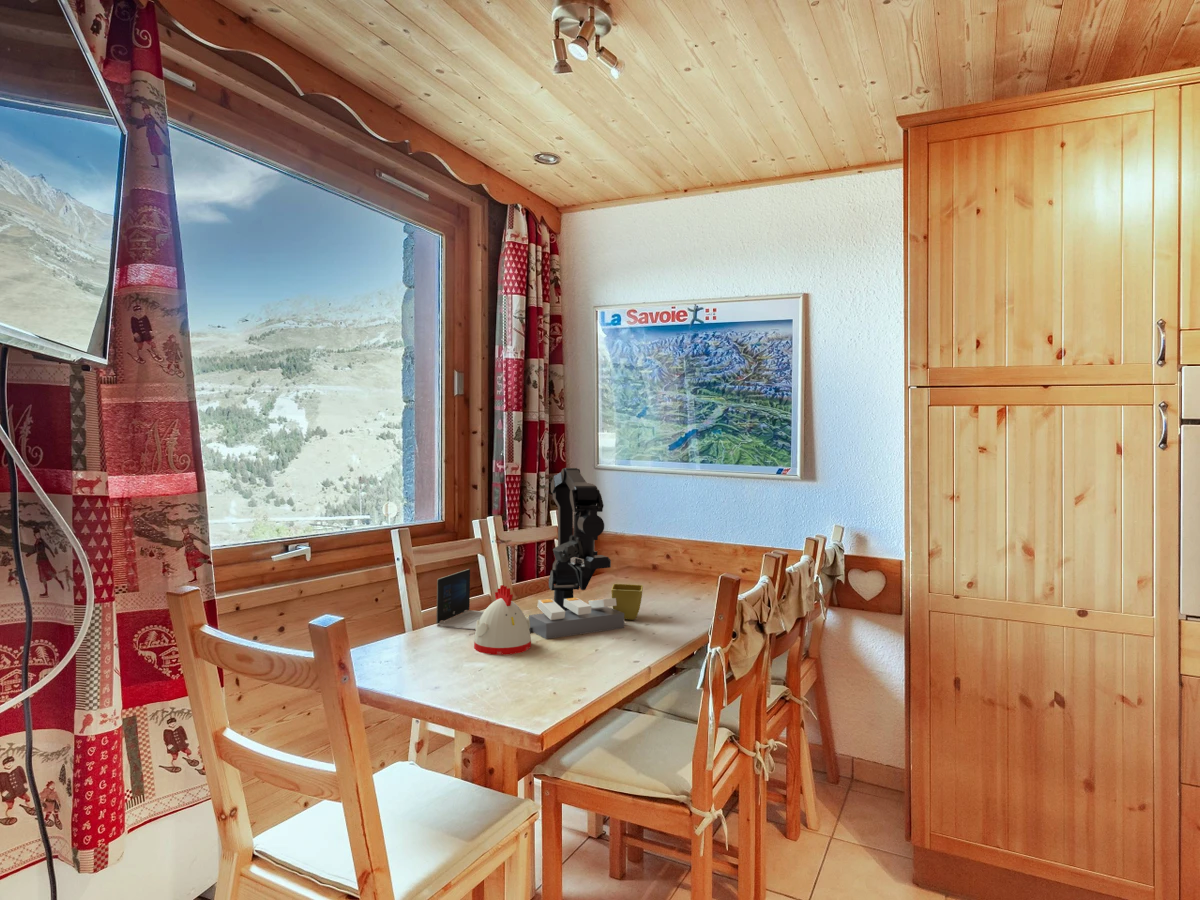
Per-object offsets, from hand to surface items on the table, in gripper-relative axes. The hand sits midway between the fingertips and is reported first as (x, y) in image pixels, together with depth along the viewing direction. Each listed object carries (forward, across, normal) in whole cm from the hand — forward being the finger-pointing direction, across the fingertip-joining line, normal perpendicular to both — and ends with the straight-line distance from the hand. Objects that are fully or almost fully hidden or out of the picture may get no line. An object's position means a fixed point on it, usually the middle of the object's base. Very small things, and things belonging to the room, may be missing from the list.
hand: (582, 589), depth 193 cm
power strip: (+11, -1, -4) cm, 12 cm away
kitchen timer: (+11, +4, -25) cm, 28 cm away
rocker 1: (+5, -2, -9) cm, 10 cm away
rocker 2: (+5, -2, -1) cm, 5 cm away
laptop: (+11, -23, -22) cm, 34 cm away
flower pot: (+11, -6, +18) cm, 22 cm away
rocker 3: (+5, -2, +7) cm, 9 cm away
